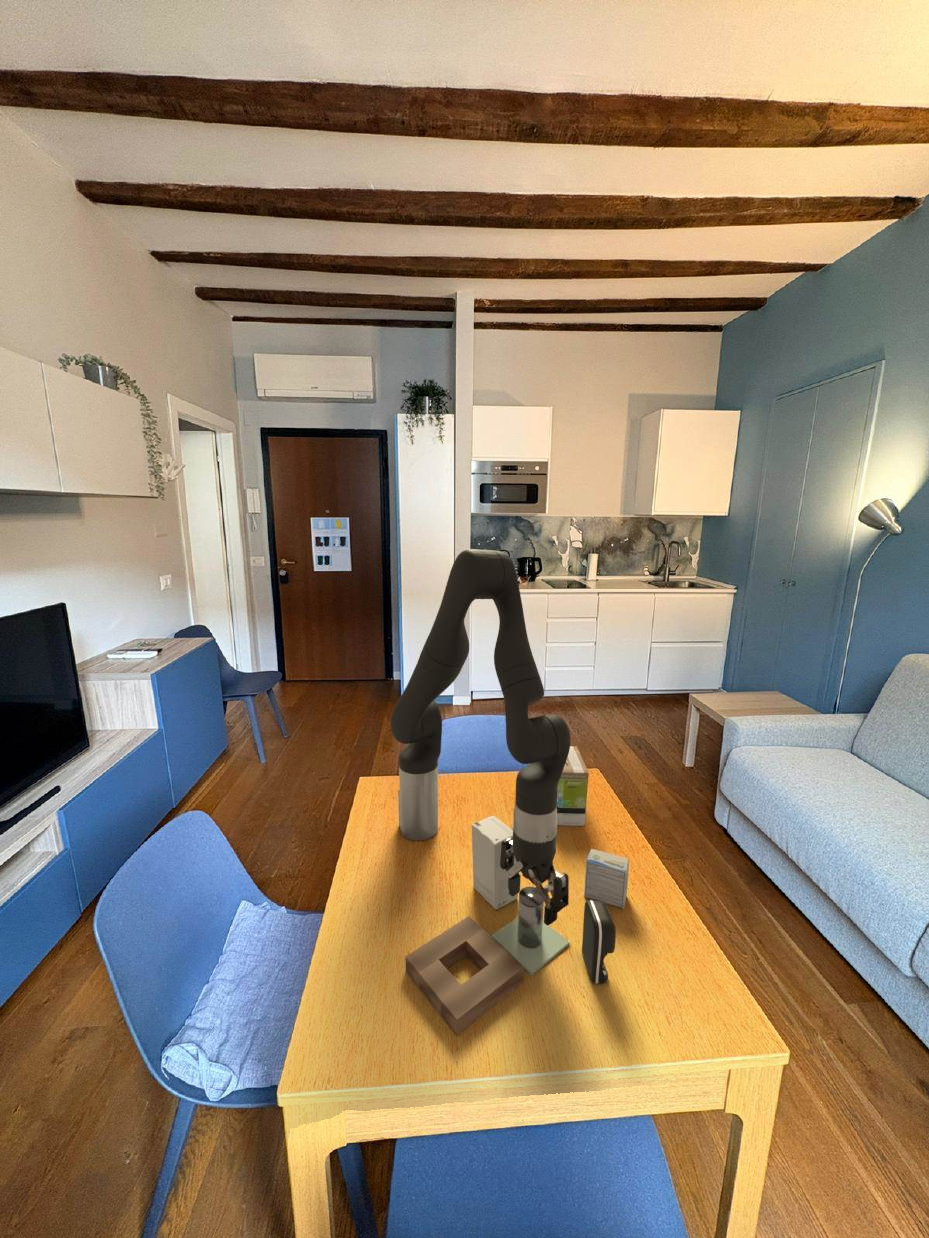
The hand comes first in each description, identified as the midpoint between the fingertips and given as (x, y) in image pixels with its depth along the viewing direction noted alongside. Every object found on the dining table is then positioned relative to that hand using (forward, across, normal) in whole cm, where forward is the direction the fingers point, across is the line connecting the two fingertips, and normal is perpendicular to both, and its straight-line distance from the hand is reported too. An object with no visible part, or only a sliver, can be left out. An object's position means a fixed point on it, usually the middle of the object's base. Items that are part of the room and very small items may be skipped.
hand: (531, 907), depth 91 cm
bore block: (+7, -2, -14) cm, 16 cm away
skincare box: (+7, -13, +3) cm, 15 cm away
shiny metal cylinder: (+7, 0, 0) cm, 7 cm away
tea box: (+7, -24, +37) cm, 45 cm away
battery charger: (+7, +11, +5) cm, 14 cm away
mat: (+7, 0, 0) cm, 7 cm away
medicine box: (+7, +2, +20) cm, 21 cm away
